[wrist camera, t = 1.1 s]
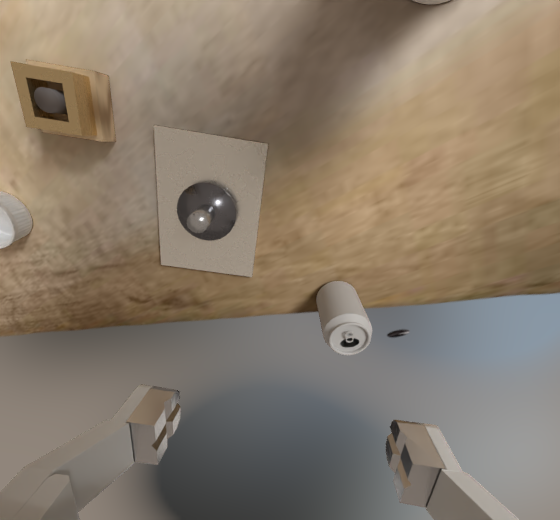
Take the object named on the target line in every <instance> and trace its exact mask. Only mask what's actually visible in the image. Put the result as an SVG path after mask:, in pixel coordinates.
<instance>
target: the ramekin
mask: <svg viewBox="0 0 560 520" xmlns="http://www.w3.org/2000/svg"><path fill="white" fill-rule="evenodd" d="M32 225H33V221H32V217H31V214H30V212H29V211H28V209H27V208H26V206H25V205H24V204H23V203H22V202H21V201H20V200H19V199H17V198H16V197H14V196H13V195H11V194H9V193H6V192H3V191H0V249H2V248H5V247H7V246H9V245H11V244H12V243H13V242H15V241H17V240H19V239H20V238H22V237H24V236H26V235H27V234H28V233H30V231H31V229H32Z"/></svg>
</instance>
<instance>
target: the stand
mask: <svg viewBox="0 0 560 520" xmlns="http://www.w3.org/2000/svg"><path fill="white" fill-rule="evenodd" d="M26 62H27V64H29V65H34V66H40V67H46V68H52V69H58V70H63V71H69V72H74V73H77V74H81V75H84V76H88V77H89V79H90V87H91V94H92V101H93V108H94V115H95V123H96V130H97V135H96V136H80V135H74V134H68V133H62V132H55V131H49V130H43V129H41V130H42V132H44V133H50V134H57V135H63V136H69V137H75V138H82V139H88V140H94V141H100V142H112V141H116V137H115V128H114V119H113V110H112V101H111V92H110V83H109V76H108V75H105V74H101V73H98V72H95V71H91V70H85V69H79V68H73V67H68V66H62V65H56V64H50V63H45V62H39V61H33V60H28V59H26ZM47 85H48V88H45V87H39V88H37V89H36V90H35V92H34V99H35V102H36V104H37V105H38V106H39V108H40V109H42V110H43V111H45V112H47V113H53V115H54V118H58V119H64V120H69V119H68V114H67V108H66V102H65V97H64V91H63V86H62V84H57V83H51V82H47Z"/></svg>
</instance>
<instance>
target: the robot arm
mask: <svg viewBox="0 0 560 520" xmlns="http://www.w3.org/2000/svg"><path fill="white" fill-rule="evenodd" d="M413 1H415V2H418V3H422V4H439V3H444V2H447V1H450V0H413ZM179 399H180V392H179V391H178V390H174V389H168V388H162V387H156V386H148V385H142V384H141V385H140V386H138V387H137V388H136V389H135V390H134V392H133V393H132V394H131V395H130V396H129V398H128V399H127V400H126V402H125V403H124V404H123V405H122V406H121V408H120V409H119V410H118V411H117V413H116V414H115V415H114V416H113V418H112V419H111V420H105V421H104V422H102V423H100V424H98V425H97V426H95V427H93V428H91V429H90V430H88V431H86V432H84V433H83V434H81V435H79V436H77V437H76V438H74V439H72V440H70V441H69V442H67V443H65V444H63V445H62V446H60V447H58V448H56V449H55V450H53V451H51V452H49V453H48V454H46V455H44V456H42V457H41V458H39V459H37V460H35V461H34V462H32V463H30V464H28V465H27V466H25V467H24V468H23V469H22V470H21V471H20V472H19V473H18V474H17V475H16V476H15V477H14V478H13V479H12V480H11V481H10V482H9V483H8V484H7V485H6V486H5V487H4V488H3V489H2V490H1V492H0V520H80V519H79V515H78V512H79V511H80V510H81V509H82V508H84V507H85V506H86V505H87V504H88V503H89V502H90V501H92V500H93V499H94V498H95V497H96V496H97V495H99V494H100V493H101V492H102V491H103V490H104V489H105V488H107V487H108V486H109V485H110V484H111V483H112V482H114V480H116V479H117V478H118V477H119V476H120V475H122V474H123V473H124V472H125V471H126V470H127V469H129V468H130V467H131V466H132V465H133V464H134V462H139V463H146V464H155V465H158V464H159V462H160V460H161V458H162V456H163V454H164V452H165V450H166V448H167V439H168V438H169V437H170V436H172V435H173V434H174V432H175V430H176V428H177V426H178V422H179V419H180V413H181V408H180V406H179V404H178V403H177V402H178V401H179ZM390 428H391V432H392V433H391V434H390V435H389V436H388V437H387V441H386V455H387V461H388V464H389V467H390V468H391V469H392V470H393V471H394V473H395V476H394V479H393V481H394V485H395V488H396V492H397V495H398V498H399V502H400V503H404V504H410V505H415V506H420V507H426V508H427V509H426V510H427V511H428V512H429V514H430V515H431V516H432V518H433V519H434V520H519V519H518V518H517V517H516V516H515V515H514V514H512V513H511V512H510V511H509V510H508V509H507V508H506V507H505V506H504V505H502V504H501V503H500V502H499V501H498V500H497V499H496V498H495V497H494V496H493V495H492V494H490V493H489V492H488V491H487V490H486V489H485V488H483V486H482V485H480V484H479V483H478V482H477V481H476V480H475V479H474V478H473V477H471V475H469V474H468V473H465V472H463V471H462V469H461V467H460V465H459V464H458V462H457V460H456V458H455V456H454V455H453V453H452V451H451V449H450V447H449V445H448V443H447V442H446V440H445V438H444V436H443V434H442V432H441V431H440V429H439V427H438V426H437V425H431V424H424V423H416V422H409V421H401V420H393V421H392V423H391V426H390Z"/></svg>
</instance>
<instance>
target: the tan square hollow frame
mask: <svg viewBox="0 0 560 520" xmlns="http://www.w3.org/2000/svg"><path fill="white" fill-rule="evenodd" d="M11 66H12V70H13V74H14V78H15V82H16V86H17V90H18V94H19V99H20V103H21V107H22V111H23V115H24V119H25V123H26V127H30V128H37V129H43V130H49V131H55V132H62V133H68V134H74V135H80V136H96V135H97V130H96V123H95V115H94V108H93V101H92V94H91V87H90V79H89V77H88V76H84V75H81V74H77V73H74V72H69V71H63V70H58V69H52V68H46V67H40V66H34V65H29V64H23V63H17V62H11ZM47 82H51V83H57V84H62V86H63V91H64V97H65V102H66V108H67V114H68V119H69V120H64V119H58V118H54V115H53V113H47V112H45V111H43V110H42V109H40V108H39V106H38V105H37V104H36V102H35V99H34V92H35V90H36V89H37V88H39V87H45V88H48V85H47Z"/></svg>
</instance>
